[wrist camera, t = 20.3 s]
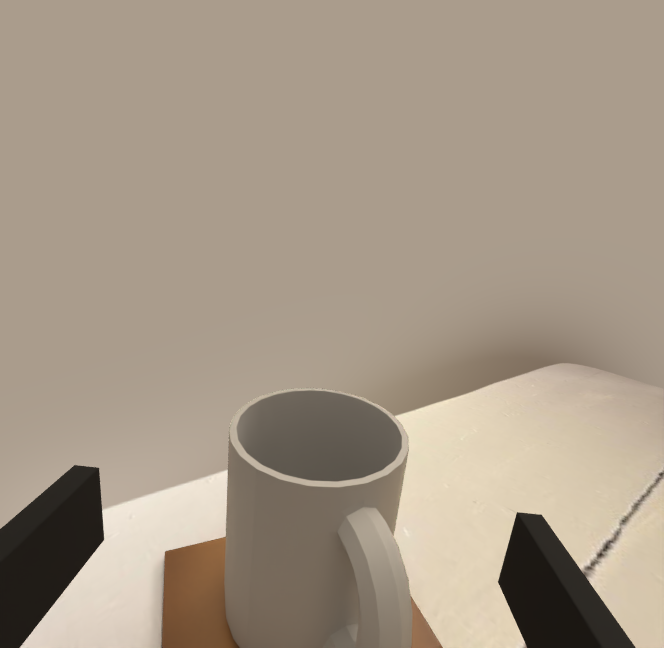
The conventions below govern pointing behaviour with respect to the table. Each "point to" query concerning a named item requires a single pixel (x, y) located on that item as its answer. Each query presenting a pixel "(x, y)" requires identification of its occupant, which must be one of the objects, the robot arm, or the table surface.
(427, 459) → the table surface
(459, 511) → the table surface
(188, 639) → the cork pad
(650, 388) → the table surface
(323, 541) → the cup
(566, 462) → the table surface
